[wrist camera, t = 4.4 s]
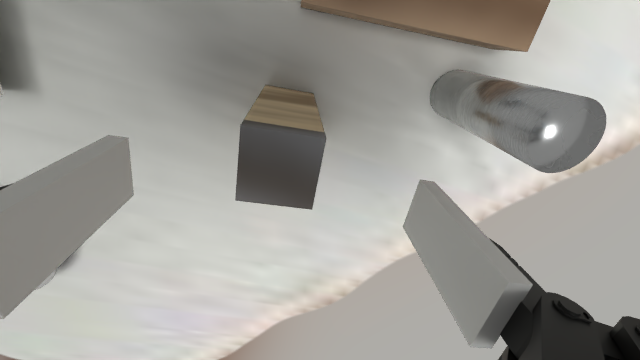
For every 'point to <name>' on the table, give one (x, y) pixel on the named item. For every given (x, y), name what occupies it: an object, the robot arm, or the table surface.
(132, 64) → the table surface
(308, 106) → the square bit
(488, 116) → the round bit
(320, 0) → the bore block
